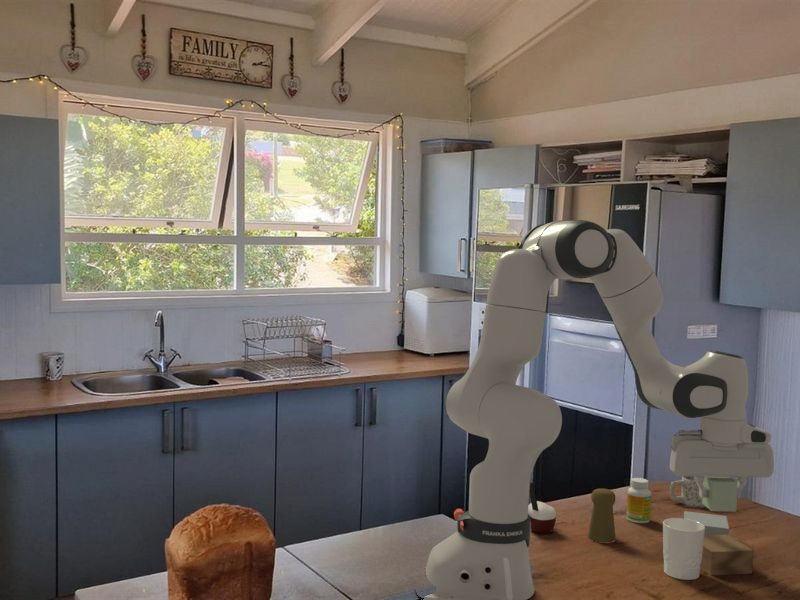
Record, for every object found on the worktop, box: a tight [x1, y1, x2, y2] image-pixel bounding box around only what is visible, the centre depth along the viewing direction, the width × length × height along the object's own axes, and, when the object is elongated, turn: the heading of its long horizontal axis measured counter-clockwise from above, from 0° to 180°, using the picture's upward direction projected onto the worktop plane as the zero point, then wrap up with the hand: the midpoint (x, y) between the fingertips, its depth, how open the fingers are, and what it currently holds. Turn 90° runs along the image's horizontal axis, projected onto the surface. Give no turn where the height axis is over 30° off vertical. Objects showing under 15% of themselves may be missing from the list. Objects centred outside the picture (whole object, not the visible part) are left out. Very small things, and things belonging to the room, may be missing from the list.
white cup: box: [662, 517, 705, 581], centre depth 162 cm, size 8×8×10 cm
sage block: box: [702, 477, 738, 513], centre depth 166 cm, size 5×5×6 cm
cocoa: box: [528, 481, 557, 535], centre depth 184 cm, size 10×6×12 cm, turn 111°
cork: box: [587, 488, 617, 543], centre depth 181 cm, size 6×6×11 cm
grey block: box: [683, 510, 730, 535], centre depth 181 cm, size 9×9×5 cm
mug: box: [669, 476, 707, 508], centre depth 208 cm, size 10×7×7 cm, turn 94°
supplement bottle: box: [626, 477, 652, 524], centre depth 194 cm, size 5×5×10 cm
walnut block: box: [700, 534, 754, 576], centre depth 166 cm, size 9×9×5 cm
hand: (719, 497), depth 166 cm, fingers closed on sage block, 5 cm apart
